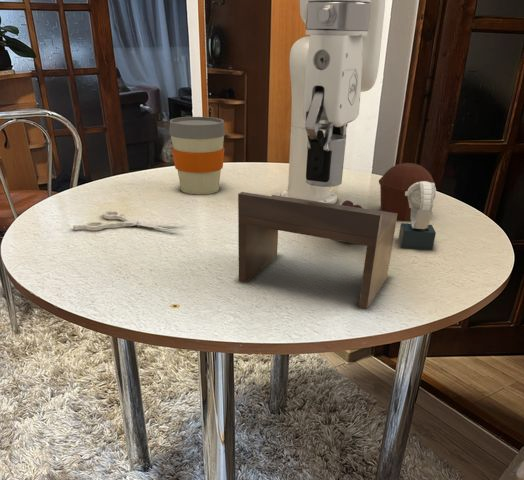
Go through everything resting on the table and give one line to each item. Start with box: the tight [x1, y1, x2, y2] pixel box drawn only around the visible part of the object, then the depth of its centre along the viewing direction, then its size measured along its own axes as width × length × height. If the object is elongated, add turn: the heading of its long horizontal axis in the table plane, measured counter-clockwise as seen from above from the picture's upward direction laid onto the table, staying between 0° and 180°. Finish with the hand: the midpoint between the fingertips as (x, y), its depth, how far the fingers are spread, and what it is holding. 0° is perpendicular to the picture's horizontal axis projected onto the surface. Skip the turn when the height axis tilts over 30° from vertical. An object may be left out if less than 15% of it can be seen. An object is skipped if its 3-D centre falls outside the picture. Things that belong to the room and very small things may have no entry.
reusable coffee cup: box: [168, 116, 226, 195], centre depth 117 cm, size 13×13×15 cm
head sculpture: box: [397, 181, 437, 251], centre depth 90 cm, size 6×8×11 cm
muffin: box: [378, 162, 436, 221], centre depth 105 cm, size 12×11×10 cm
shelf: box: [237, 191, 397, 310], centre depth 75 cm, size 12×20×13 cm, turn 65°
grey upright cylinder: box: [306, 134, 347, 188], centre depth 70 cm, size 5×5×6 cm
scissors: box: [72, 210, 184, 233], centre depth 97 cm, size 11×1×20 cm
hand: (324, 174), depth 71 cm, fingers closed on grey upright cylinder, 5 cm apart
